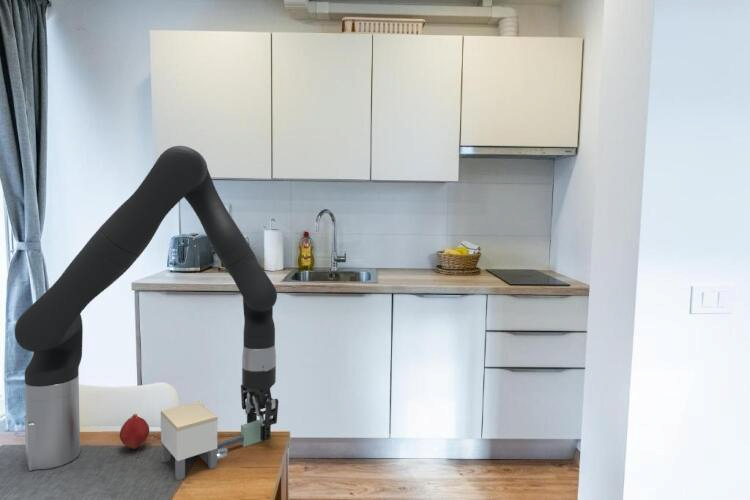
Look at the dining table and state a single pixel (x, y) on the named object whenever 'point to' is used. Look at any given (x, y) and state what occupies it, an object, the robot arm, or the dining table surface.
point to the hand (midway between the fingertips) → (258, 434)
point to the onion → (134, 432)
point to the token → (222, 453)
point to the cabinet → (188, 435)
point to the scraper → (240, 438)
